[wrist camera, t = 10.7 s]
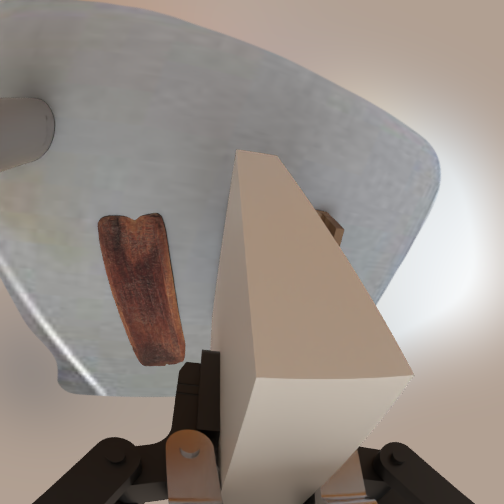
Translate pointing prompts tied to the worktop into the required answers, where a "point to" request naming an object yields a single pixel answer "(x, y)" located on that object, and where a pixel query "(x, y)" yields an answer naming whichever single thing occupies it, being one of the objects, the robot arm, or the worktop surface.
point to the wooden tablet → (143, 286)
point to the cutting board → (292, 344)
